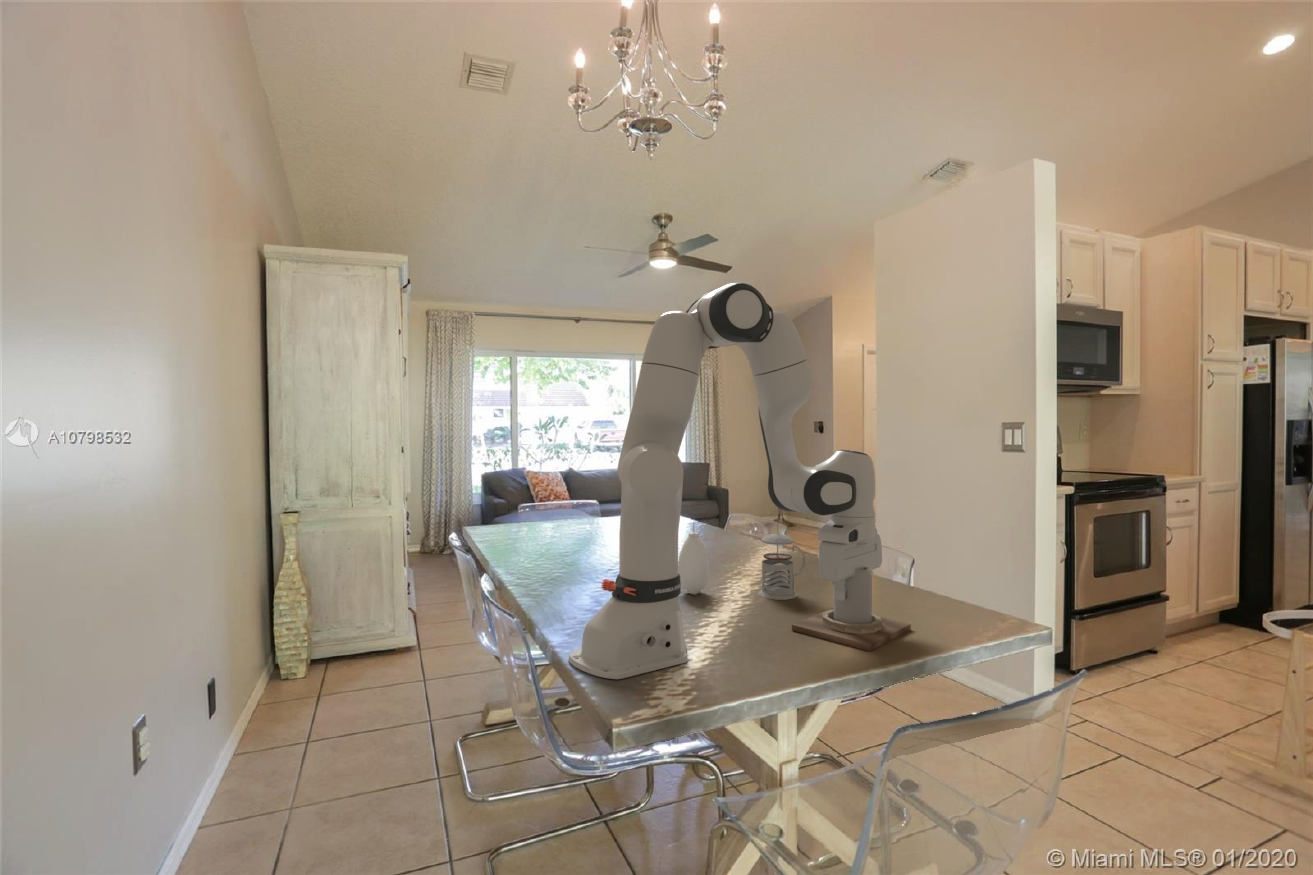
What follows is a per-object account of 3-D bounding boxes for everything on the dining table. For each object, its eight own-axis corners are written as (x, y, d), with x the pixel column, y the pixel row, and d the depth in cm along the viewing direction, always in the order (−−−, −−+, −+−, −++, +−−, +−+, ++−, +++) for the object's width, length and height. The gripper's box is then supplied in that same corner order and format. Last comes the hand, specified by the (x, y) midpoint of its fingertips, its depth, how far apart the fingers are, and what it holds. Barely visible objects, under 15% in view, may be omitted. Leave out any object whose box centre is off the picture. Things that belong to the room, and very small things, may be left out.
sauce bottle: (676, 589, 161) (676, 520, 160) (705, 589, 161) (706, 519, 161) (680, 598, 153) (680, 524, 153) (711, 597, 154) (712, 524, 153)
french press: (757, 588, 162) (757, 492, 162) (802, 590, 160) (803, 493, 160) (758, 598, 152) (758, 496, 152) (806, 600, 151) (807, 497, 150)
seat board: (869, 651, 116) (870, 637, 116) (791, 630, 128) (792, 617, 128) (910, 629, 129) (910, 616, 129) (836, 612, 141) (836, 600, 141)
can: (865, 618, 132) (865, 562, 132) (876, 630, 125) (877, 570, 125) (829, 618, 132) (829, 562, 132) (839, 629, 125) (839, 570, 125)
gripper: (862, 521, 138) (862, 584, 138) (812, 532, 123) (812, 602, 124) (890, 524, 133) (889, 589, 134) (842, 536, 119) (841, 608, 119)
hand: (852, 595), depth 128 cm, fingers closed on can, 7 cm apart
